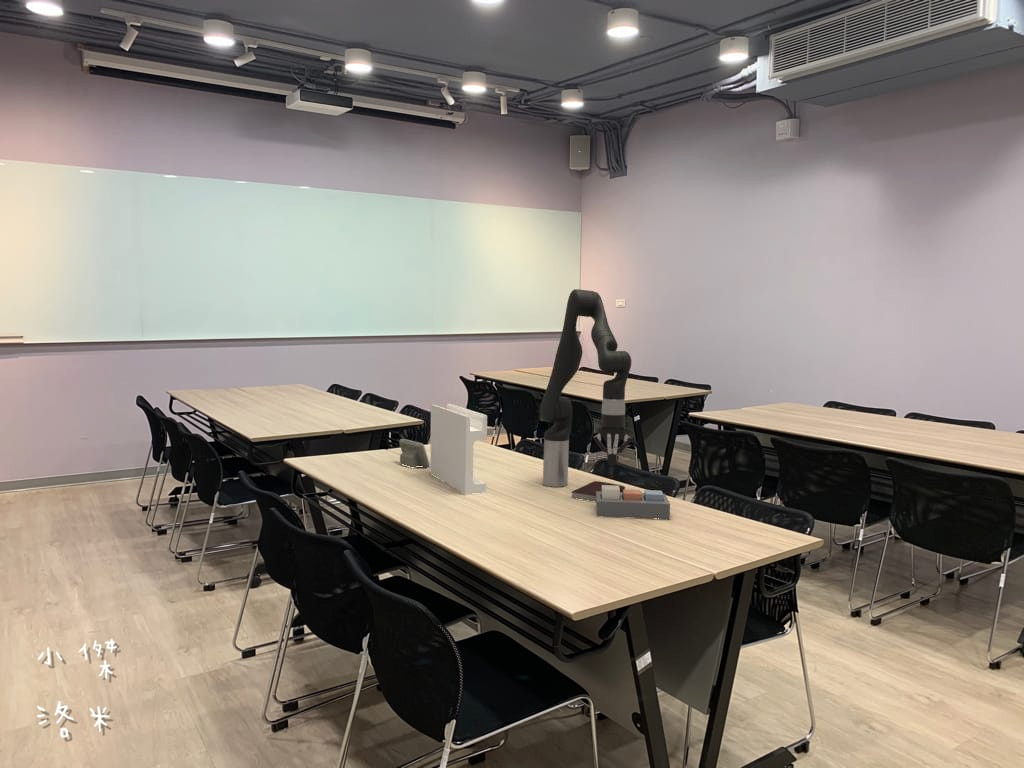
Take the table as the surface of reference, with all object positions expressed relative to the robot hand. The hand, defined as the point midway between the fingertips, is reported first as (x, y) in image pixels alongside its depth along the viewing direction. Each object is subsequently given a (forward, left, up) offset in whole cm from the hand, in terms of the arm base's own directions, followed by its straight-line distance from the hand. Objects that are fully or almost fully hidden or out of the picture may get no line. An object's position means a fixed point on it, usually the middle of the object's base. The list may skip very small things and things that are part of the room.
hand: (611, 465), depth 239 cm
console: (+7, 0, -16) cm, 17 cm away
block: (-56, +31, -16) cm, 66 cm away
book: (-3, +21, -16) cm, 27 cm away
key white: (0, 0, -12) cm, 12 cm away
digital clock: (-79, +59, -16) cm, 100 cm away
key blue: (+14, 0, -13) cm, 19 cm away
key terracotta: (+7, 0, -13) cm, 15 cm away
